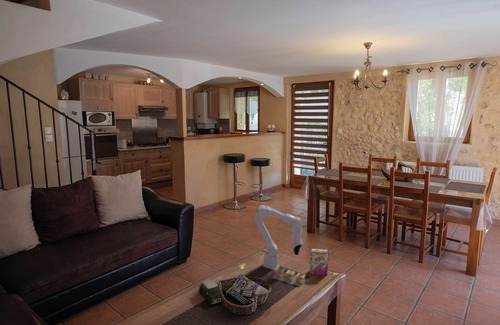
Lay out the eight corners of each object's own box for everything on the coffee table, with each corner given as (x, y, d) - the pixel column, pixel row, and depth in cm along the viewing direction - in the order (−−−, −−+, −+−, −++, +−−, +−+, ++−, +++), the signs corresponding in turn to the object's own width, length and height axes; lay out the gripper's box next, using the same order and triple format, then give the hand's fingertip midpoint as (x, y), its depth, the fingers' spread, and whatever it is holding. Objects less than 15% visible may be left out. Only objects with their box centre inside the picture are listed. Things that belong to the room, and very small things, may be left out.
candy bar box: (310, 275, 205) (311, 251, 202) (309, 271, 210) (310, 248, 207) (327, 276, 204) (328, 252, 201) (326, 272, 209) (327, 249, 206)
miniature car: (211, 307, 169) (211, 294, 168) (197, 291, 184) (197, 279, 183) (225, 302, 174) (225, 289, 173) (211, 287, 189) (211, 275, 188)
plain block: (285, 279, 198) (285, 272, 197) (288, 276, 202) (288, 269, 201) (292, 281, 196) (292, 274, 195) (294, 278, 199) (295, 271, 199)
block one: (275, 276, 201) (275, 269, 201) (278, 273, 205) (278, 266, 204) (281, 278, 199) (282, 271, 198) (284, 275, 203) (285, 268, 202)
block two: (295, 282, 194) (296, 275, 194) (298, 279, 198) (298, 272, 197) (302, 284, 192) (302, 277, 191) (305, 281, 196) (305, 274, 195)
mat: (271, 278, 200) (271, 277, 200) (278, 271, 208) (278, 271, 208) (302, 288, 189) (302, 287, 189) (308, 280, 198) (308, 279, 198)
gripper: (298, 240, 203) (297, 260, 205) (306, 233, 215) (305, 251, 217) (288, 238, 206) (288, 257, 209) (297, 231, 219) (296, 249, 221)
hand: (296, 254), depth 213 cm, fingers closed
